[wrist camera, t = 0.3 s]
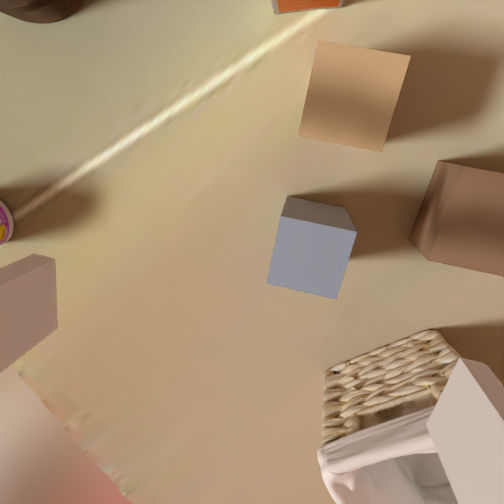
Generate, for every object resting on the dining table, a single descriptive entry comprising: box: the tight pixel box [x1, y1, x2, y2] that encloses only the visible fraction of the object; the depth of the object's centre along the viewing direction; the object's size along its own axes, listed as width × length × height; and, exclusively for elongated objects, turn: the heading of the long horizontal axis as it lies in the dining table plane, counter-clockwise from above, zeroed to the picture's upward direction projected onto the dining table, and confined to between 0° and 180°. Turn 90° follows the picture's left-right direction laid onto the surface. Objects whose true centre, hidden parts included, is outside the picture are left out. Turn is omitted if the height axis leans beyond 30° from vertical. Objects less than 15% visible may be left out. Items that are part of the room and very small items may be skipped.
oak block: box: [298, 41, 411, 152], centre depth 27 cm, size 6×6×9 cm
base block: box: [409, 161, 504, 276], centre depth 29 cm, size 8×8×6 cm
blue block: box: [267, 196, 357, 300], centre depth 31 cm, size 6×6×9 cm
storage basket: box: [317, 330, 462, 504], centre depth 34 cm, size 24×16×15 cm
